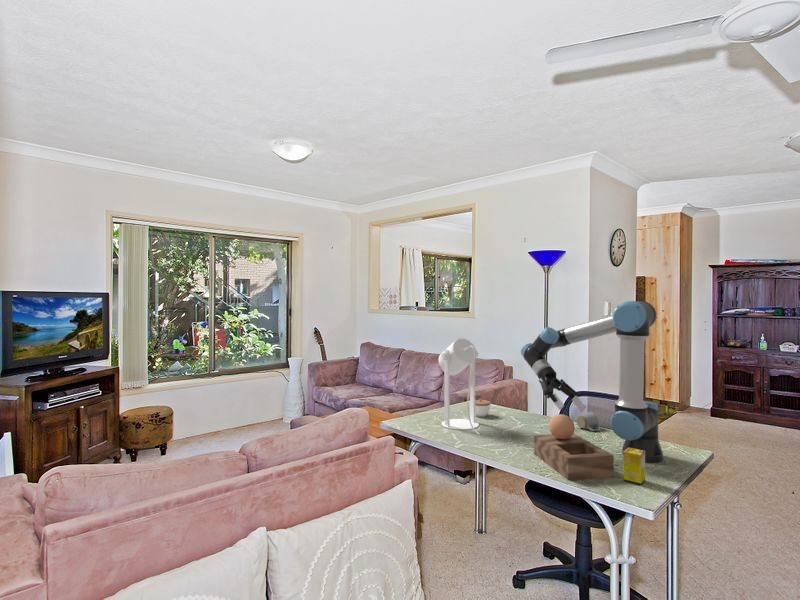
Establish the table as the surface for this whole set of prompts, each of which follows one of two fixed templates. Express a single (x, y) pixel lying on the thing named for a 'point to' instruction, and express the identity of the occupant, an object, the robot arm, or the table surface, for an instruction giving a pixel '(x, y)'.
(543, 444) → the walnut stand
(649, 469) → the table surface
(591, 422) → the ceramic mug
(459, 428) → the desk lamp
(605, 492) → the table surface
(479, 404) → the lidded jar
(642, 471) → the supplement box
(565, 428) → the ball
